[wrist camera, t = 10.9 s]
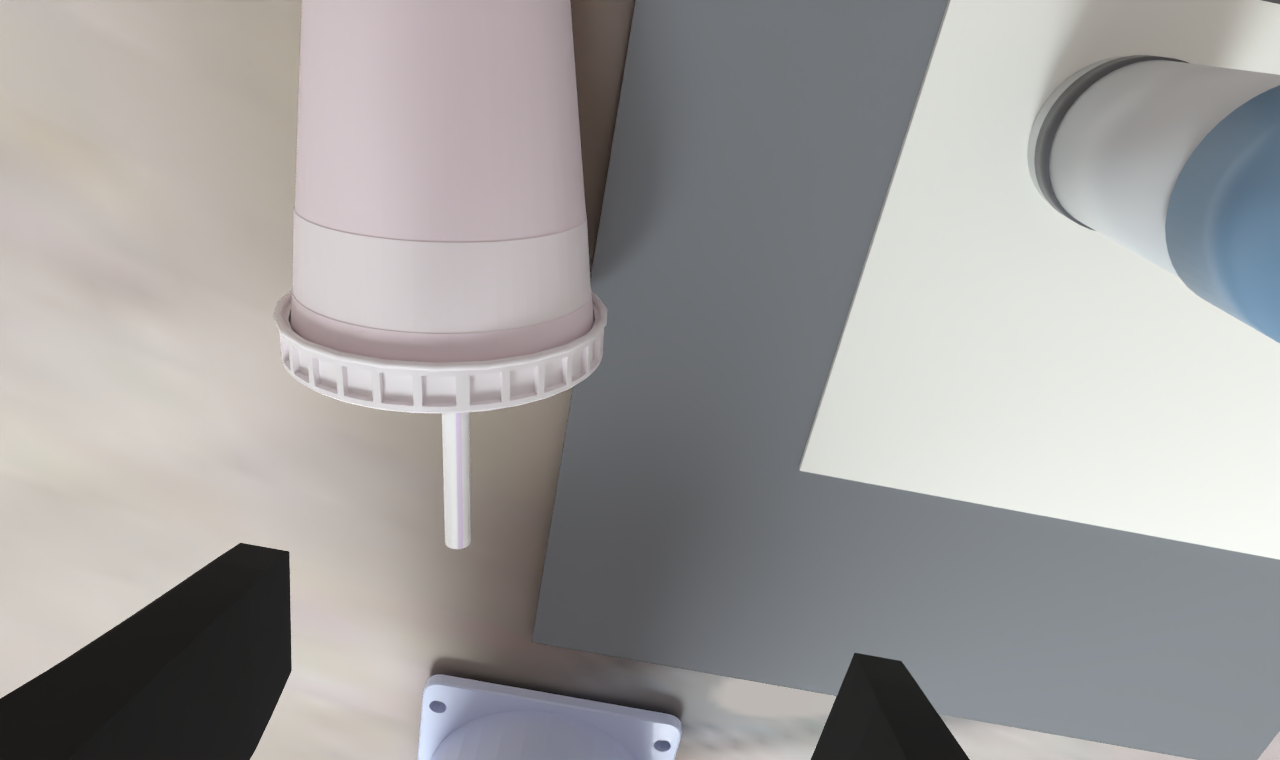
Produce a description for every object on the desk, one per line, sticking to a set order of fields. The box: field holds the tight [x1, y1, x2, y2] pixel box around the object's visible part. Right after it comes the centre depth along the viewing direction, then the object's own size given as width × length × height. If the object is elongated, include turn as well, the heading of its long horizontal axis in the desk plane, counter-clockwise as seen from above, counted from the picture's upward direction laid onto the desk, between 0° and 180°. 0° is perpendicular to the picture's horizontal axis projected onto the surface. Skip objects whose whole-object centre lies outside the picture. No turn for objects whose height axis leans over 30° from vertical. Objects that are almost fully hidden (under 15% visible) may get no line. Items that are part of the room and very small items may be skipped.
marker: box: [1027, 55, 1280, 343], centre depth 13 cm, size 3×3×8 cm
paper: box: [799, 0, 1280, 560], centre depth 18 cm, size 12×16×1 cm
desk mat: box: [532, 0, 1280, 760], centre depth 19 cm, size 22×22×1 cm
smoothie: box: [273, 0, 607, 549], centre depth 15 cm, size 6×6×14 cm
